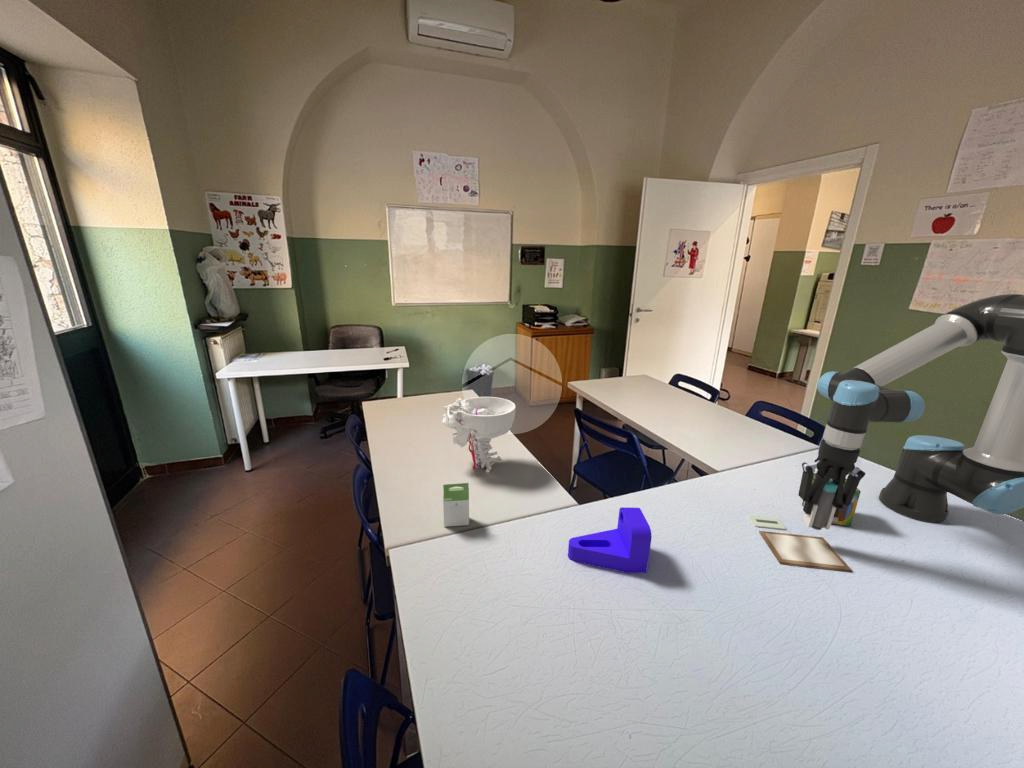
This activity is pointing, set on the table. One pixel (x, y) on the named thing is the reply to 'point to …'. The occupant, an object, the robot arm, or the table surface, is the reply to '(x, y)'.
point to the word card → (766, 522)
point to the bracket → (616, 544)
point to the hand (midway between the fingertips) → (815, 524)
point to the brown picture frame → (804, 551)
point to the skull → (479, 425)
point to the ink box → (456, 504)
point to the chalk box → (844, 509)
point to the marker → (824, 505)
